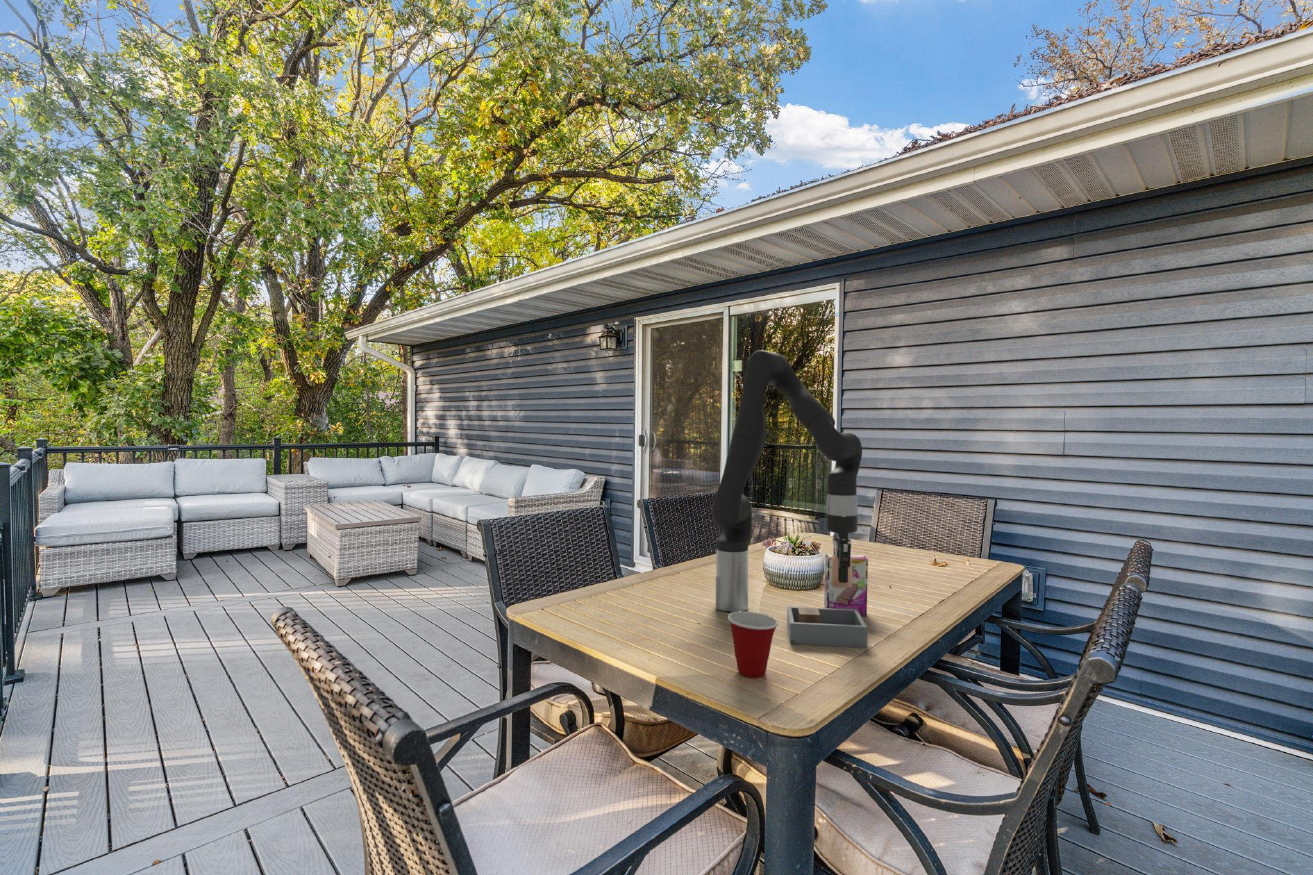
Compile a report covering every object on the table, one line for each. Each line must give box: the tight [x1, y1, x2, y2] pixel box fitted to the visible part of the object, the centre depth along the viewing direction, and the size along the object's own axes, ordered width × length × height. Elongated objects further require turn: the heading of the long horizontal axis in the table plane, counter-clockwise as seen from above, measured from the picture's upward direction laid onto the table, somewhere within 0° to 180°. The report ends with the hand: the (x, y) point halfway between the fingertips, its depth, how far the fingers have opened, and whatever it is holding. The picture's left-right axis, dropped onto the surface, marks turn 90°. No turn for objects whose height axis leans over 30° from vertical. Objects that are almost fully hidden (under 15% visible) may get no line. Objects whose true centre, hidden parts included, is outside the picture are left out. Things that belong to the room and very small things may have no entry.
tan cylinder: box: [831, 555, 852, 588], centre depth 152 cm, size 5×5×7 cm
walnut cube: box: [798, 608, 820, 624], centre depth 153 cm, size 5×5×5 cm
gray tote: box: [786, 606, 868, 649], centre depth 152 cm, size 18×14×5 cm
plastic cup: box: [727, 611, 779, 679], centre depth 130 cm, size 11×11×12 cm
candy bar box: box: [823, 553, 869, 617], centre depth 171 cm, size 11×5×16 cm, turn 84°
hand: (841, 579), depth 152 cm, fingers closed on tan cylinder, 5 cm apart
